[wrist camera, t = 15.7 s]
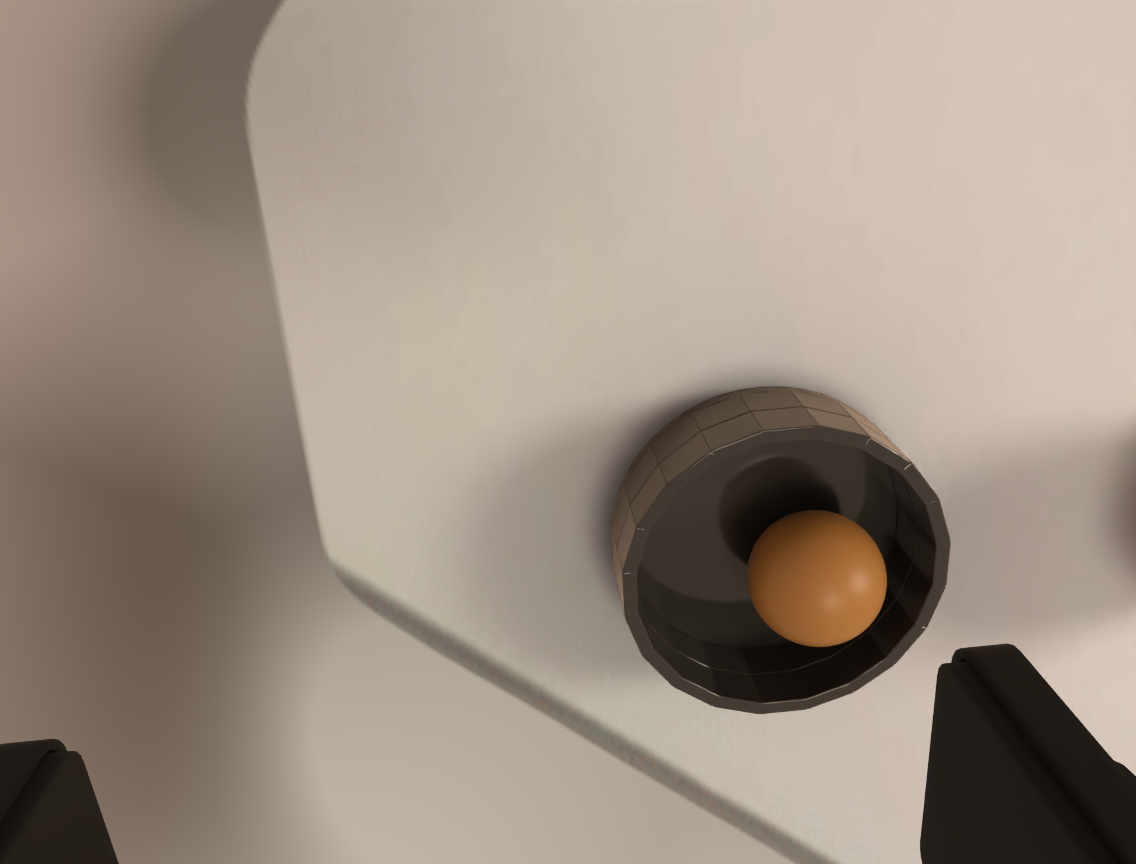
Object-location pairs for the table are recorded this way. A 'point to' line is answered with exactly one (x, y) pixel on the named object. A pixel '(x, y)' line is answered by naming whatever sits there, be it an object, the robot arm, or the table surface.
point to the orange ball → (816, 578)
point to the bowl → (733, 525)
